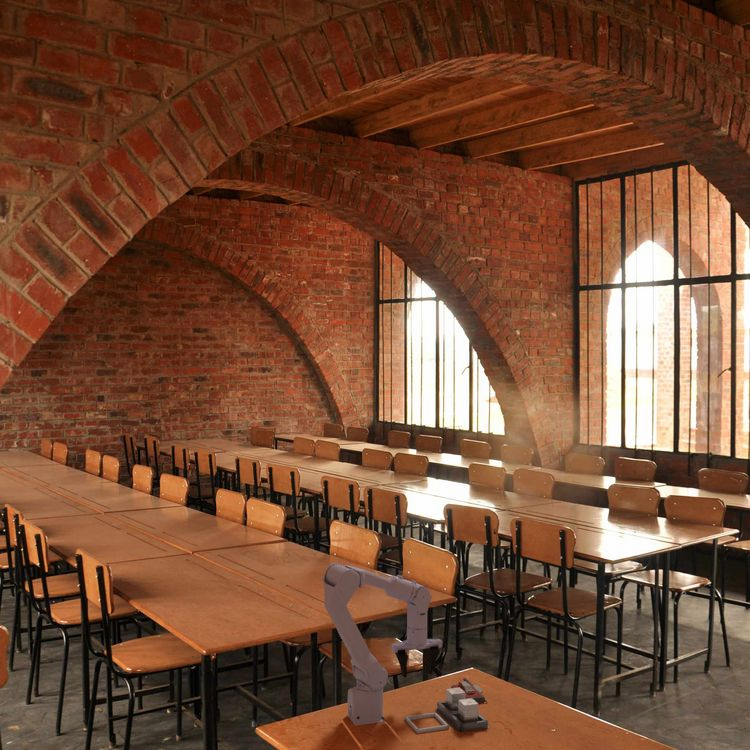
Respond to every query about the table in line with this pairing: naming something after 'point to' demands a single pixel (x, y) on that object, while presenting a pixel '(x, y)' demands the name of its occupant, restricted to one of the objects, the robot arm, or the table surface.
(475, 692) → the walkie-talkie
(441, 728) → the grey square tray
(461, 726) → the metal divided rack
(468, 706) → the loose billet
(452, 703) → the seated billet
